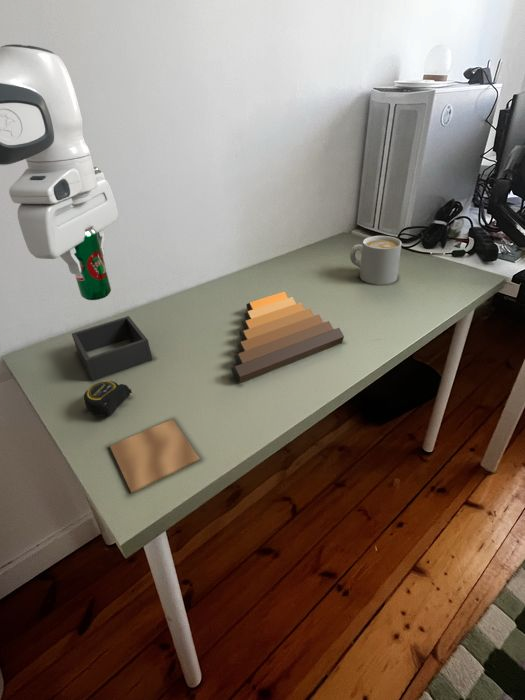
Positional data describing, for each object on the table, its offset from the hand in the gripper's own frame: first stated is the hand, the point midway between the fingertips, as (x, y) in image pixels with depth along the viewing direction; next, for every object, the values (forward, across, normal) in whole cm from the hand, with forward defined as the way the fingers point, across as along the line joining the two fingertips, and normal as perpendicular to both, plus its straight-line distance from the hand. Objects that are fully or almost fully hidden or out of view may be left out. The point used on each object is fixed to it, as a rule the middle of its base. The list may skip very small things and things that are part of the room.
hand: (88, 264), depth 72 cm
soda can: (+6, 0, 0) cm, 6 cm away
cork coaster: (+24, +17, +15) cm, 33 cm away
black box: (+24, -8, -6) cm, 26 cm away
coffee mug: (+24, -56, +49) cm, 77 cm away
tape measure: (+25, +7, +2) cm, 26 cm away
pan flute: (+24, -20, +25) cm, 40 cm away
